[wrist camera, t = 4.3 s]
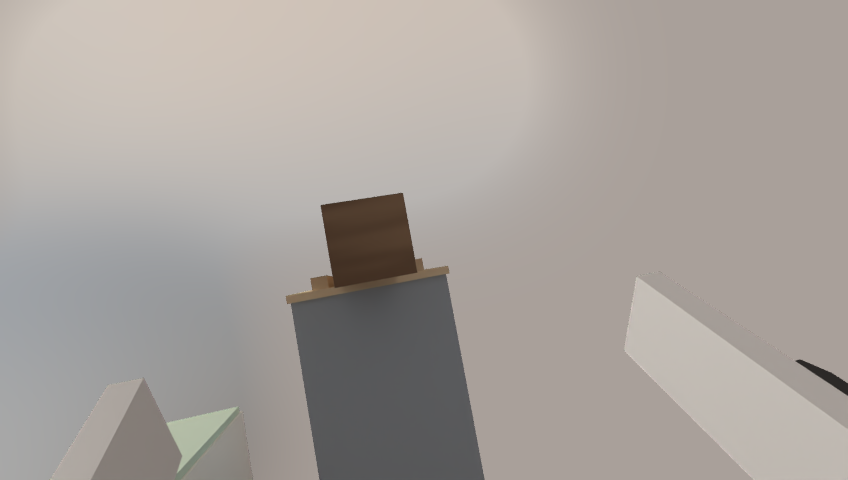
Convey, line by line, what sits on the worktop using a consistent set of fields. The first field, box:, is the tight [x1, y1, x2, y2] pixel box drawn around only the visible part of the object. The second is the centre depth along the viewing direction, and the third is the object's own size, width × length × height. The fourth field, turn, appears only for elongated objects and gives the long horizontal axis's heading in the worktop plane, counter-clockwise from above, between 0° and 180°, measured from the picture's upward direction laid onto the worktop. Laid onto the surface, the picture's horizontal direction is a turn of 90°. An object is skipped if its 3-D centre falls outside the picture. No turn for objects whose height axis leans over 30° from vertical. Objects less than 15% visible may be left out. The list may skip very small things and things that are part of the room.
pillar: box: [286, 258, 484, 480], centre depth 32 cm, size 12×10×29 cm
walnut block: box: [321, 193, 417, 288], centre depth 31 cm, size 26×4×4 cm, turn 10°
